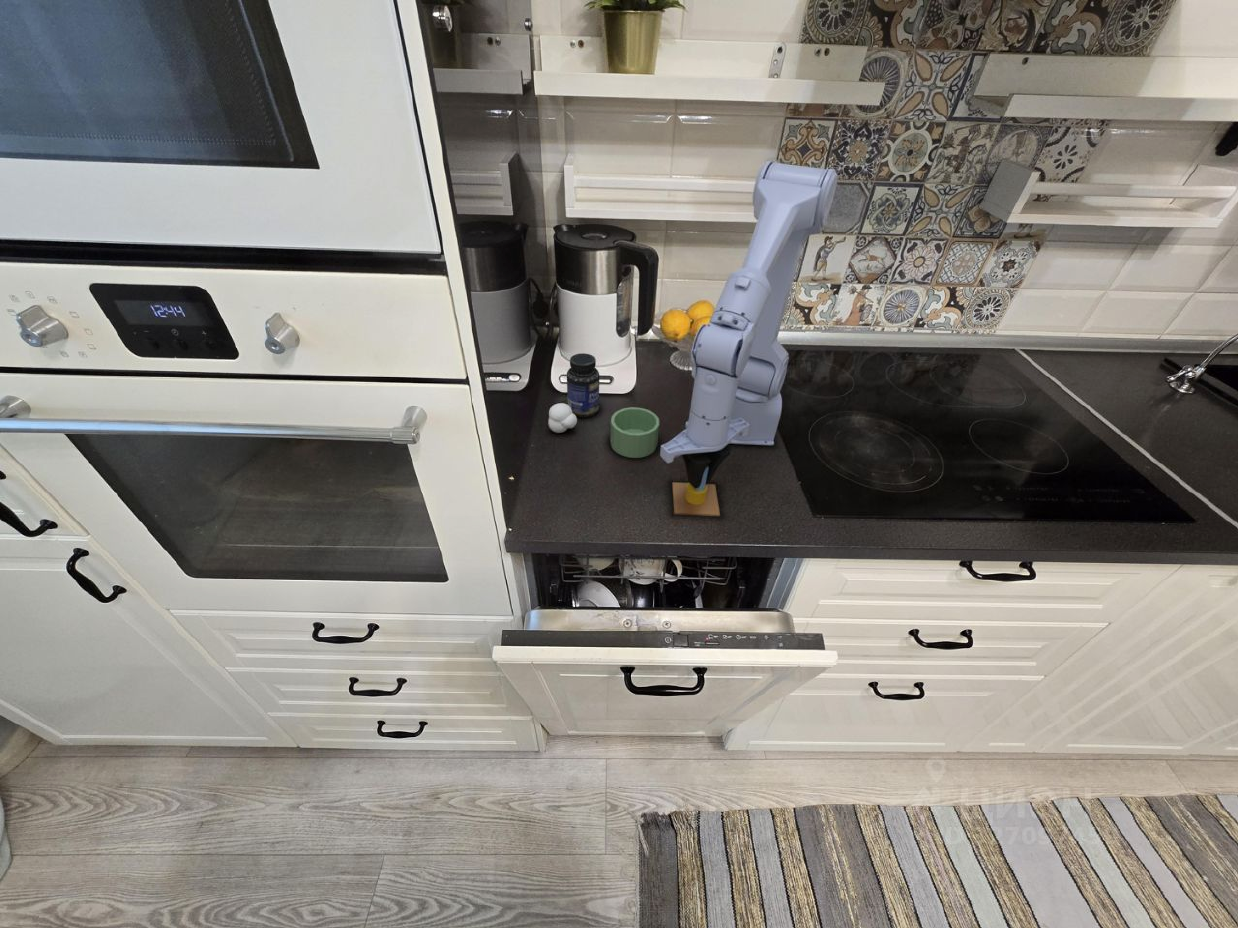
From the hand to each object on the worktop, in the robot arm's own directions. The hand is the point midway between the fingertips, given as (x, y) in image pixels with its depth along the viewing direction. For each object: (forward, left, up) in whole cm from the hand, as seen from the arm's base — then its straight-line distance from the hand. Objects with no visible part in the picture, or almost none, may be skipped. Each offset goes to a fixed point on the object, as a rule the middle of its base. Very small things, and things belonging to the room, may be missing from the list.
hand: (698, 482), depth 79 cm
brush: (0, 0, -3) cm, 3 cm away
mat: (0, 0, -4) cm, 4 cm away
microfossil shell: (+23, -17, -4) cm, 29 cm away
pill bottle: (+20, -24, -4) cm, 32 cm away
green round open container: (+10, -14, -4) cm, 18 cm away
